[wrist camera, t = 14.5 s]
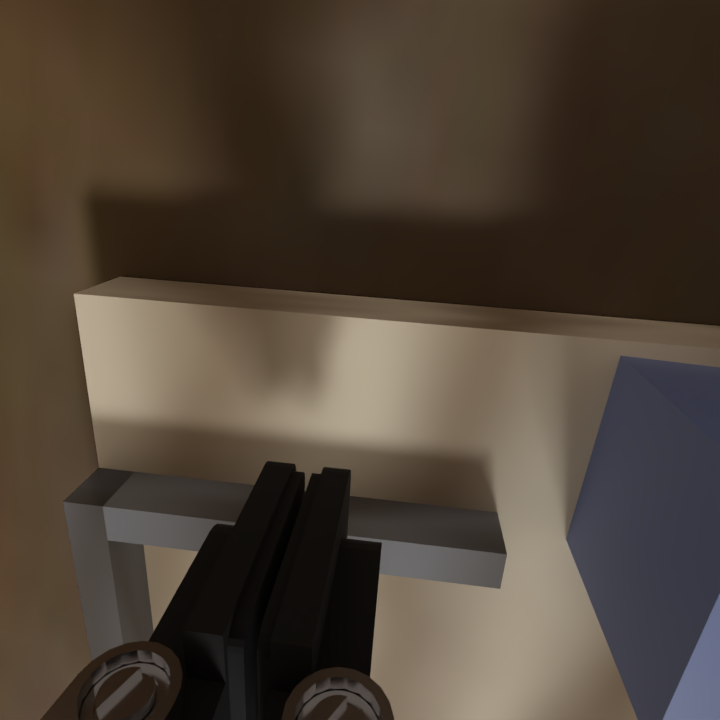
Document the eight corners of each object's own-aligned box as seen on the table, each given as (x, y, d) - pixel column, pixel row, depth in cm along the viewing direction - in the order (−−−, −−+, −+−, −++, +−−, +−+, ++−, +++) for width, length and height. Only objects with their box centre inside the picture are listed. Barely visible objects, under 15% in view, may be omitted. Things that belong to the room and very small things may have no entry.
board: (1147, 361, 12) (1422, 434, 9) (831, 844, 19) (918, 987, 15) (119, 276, 14) (28, 310, 11) (171, 743, 21) (125, 851, 17)
